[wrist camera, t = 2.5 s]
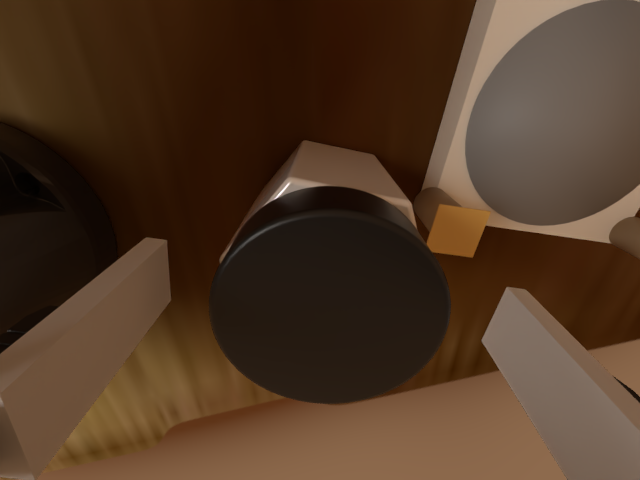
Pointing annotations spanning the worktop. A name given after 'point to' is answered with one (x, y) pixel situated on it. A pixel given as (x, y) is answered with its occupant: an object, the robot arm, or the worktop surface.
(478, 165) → the cradle board
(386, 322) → the jar
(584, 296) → the worktop surface
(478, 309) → the worktop surface
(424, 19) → the worktop surface
